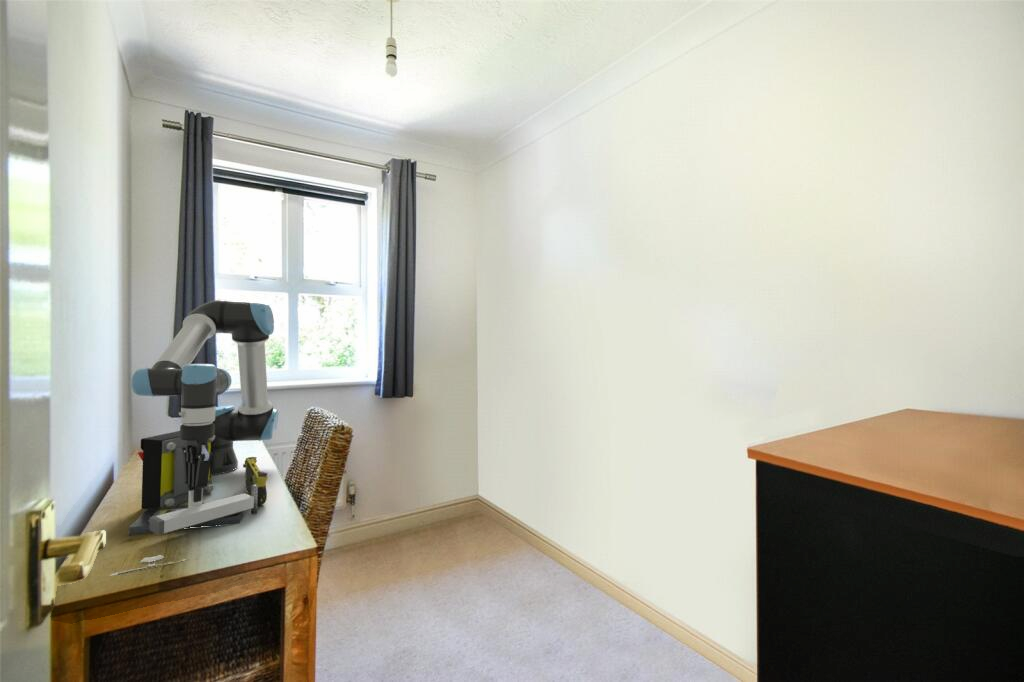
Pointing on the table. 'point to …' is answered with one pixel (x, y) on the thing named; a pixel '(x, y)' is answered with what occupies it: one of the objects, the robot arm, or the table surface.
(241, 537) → the table surface
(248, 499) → the light grey rectangular bar
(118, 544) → the table surface
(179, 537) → the table surface
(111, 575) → the picture light
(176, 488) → the electrical component
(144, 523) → the label board
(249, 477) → the gaming console
